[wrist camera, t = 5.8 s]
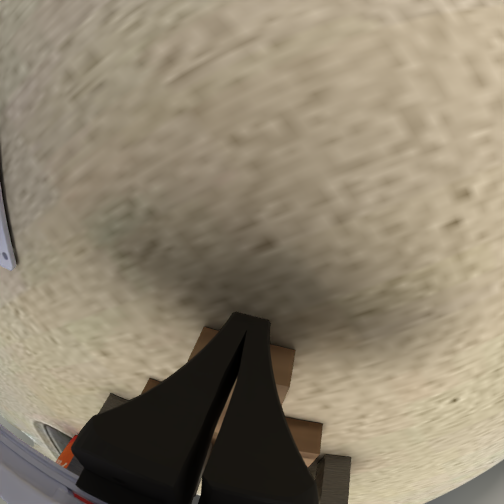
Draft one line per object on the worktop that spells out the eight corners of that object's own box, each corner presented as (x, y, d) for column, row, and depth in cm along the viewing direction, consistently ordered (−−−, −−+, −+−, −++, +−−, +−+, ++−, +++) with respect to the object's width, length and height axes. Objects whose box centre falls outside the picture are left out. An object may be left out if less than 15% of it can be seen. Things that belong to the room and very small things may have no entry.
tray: (141, 307, 14) (90, 380, 10) (361, 363, 13) (362, 454, 9) (160, 440, 21) (140, 486, 17) (284, 474, 20) (274, 523, 16)
